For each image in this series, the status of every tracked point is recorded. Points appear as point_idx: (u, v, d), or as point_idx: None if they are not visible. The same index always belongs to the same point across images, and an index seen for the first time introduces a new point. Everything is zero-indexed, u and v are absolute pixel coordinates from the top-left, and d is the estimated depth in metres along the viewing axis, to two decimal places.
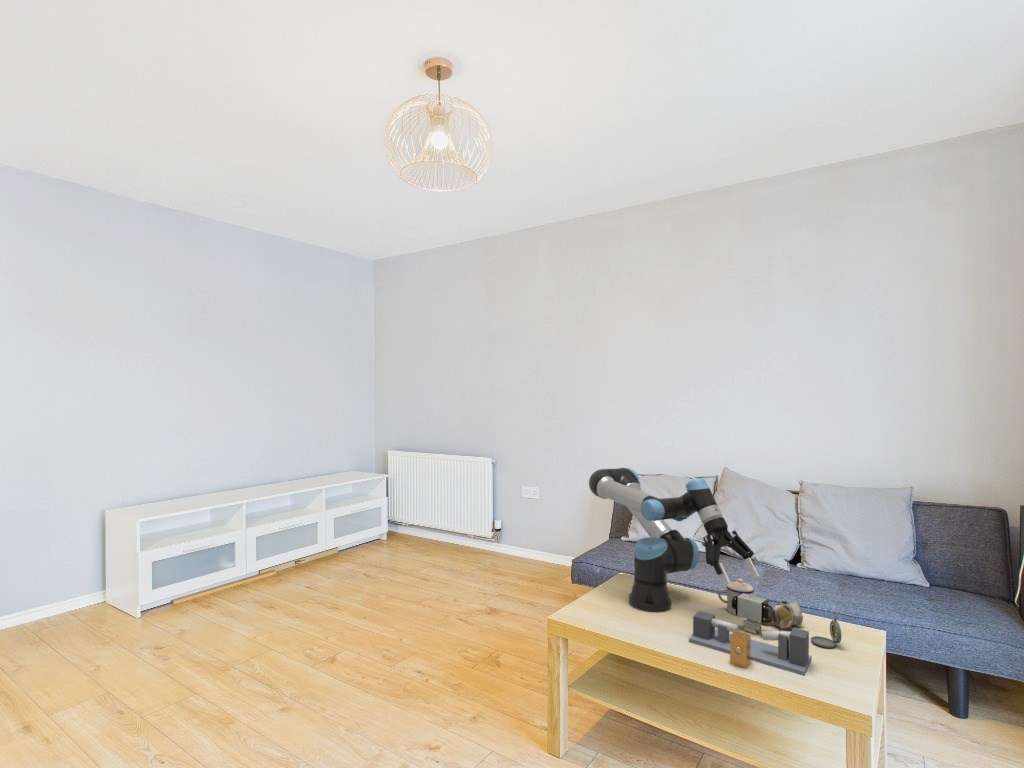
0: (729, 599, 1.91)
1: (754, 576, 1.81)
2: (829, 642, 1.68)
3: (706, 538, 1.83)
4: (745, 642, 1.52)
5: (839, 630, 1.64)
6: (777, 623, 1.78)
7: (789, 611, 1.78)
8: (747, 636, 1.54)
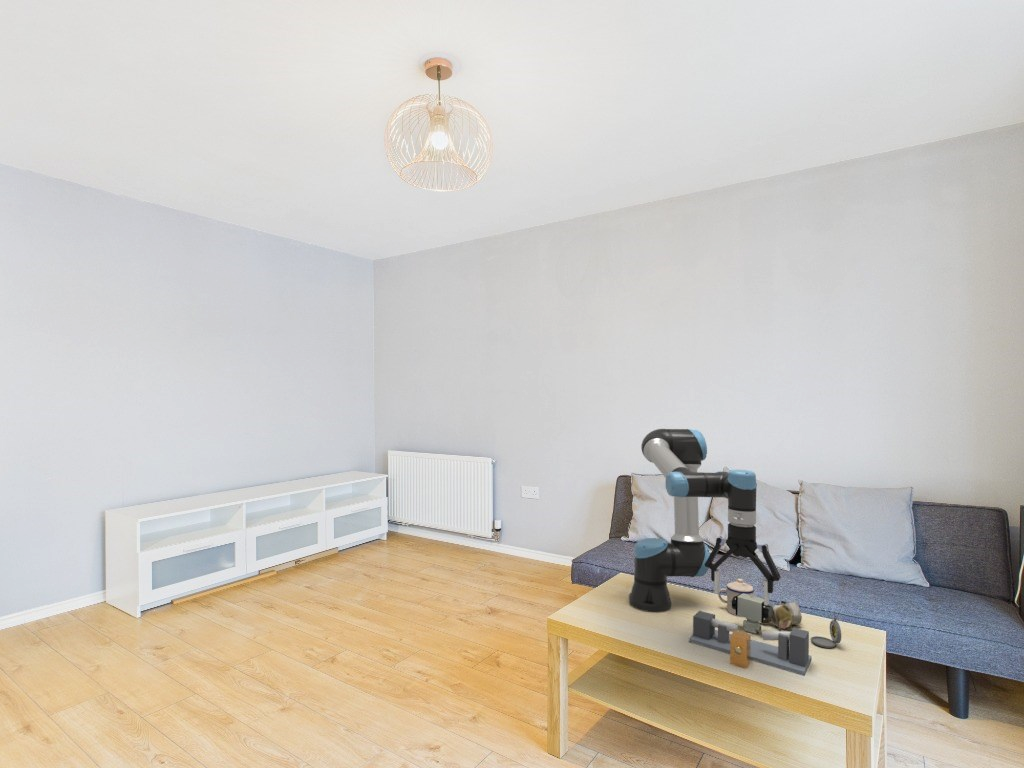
0: (729, 599, 1.91)
1: None
2: (829, 642, 1.68)
3: None
4: (745, 642, 1.52)
5: (839, 630, 1.64)
6: (776, 623, 1.78)
7: (788, 611, 1.78)
8: (747, 636, 1.54)
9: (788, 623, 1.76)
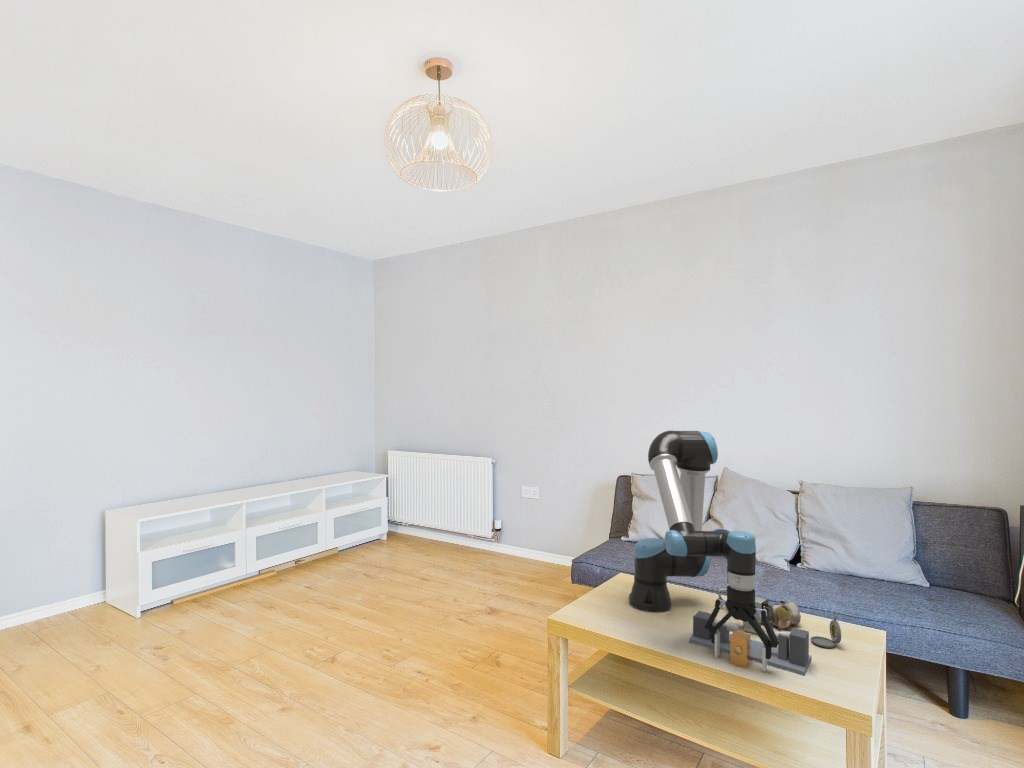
0: None
1: None
2: (829, 642, 1.68)
3: None
4: (745, 642, 1.52)
5: (839, 630, 1.65)
6: (775, 623, 1.78)
7: (787, 611, 1.79)
8: (747, 636, 1.54)
9: (787, 623, 1.76)
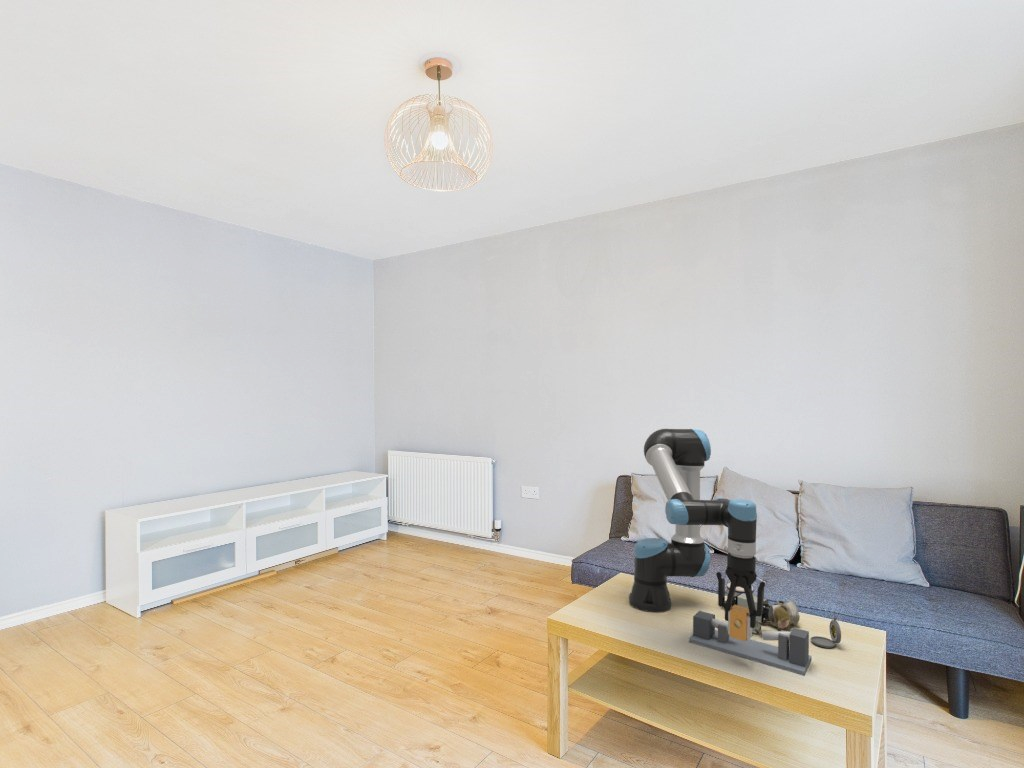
0: None
1: None
2: (829, 642, 1.68)
3: None
4: (745, 615, 1.52)
5: (839, 630, 1.65)
6: (775, 623, 1.79)
7: (786, 611, 1.79)
8: (747, 610, 1.54)
9: (786, 623, 1.76)
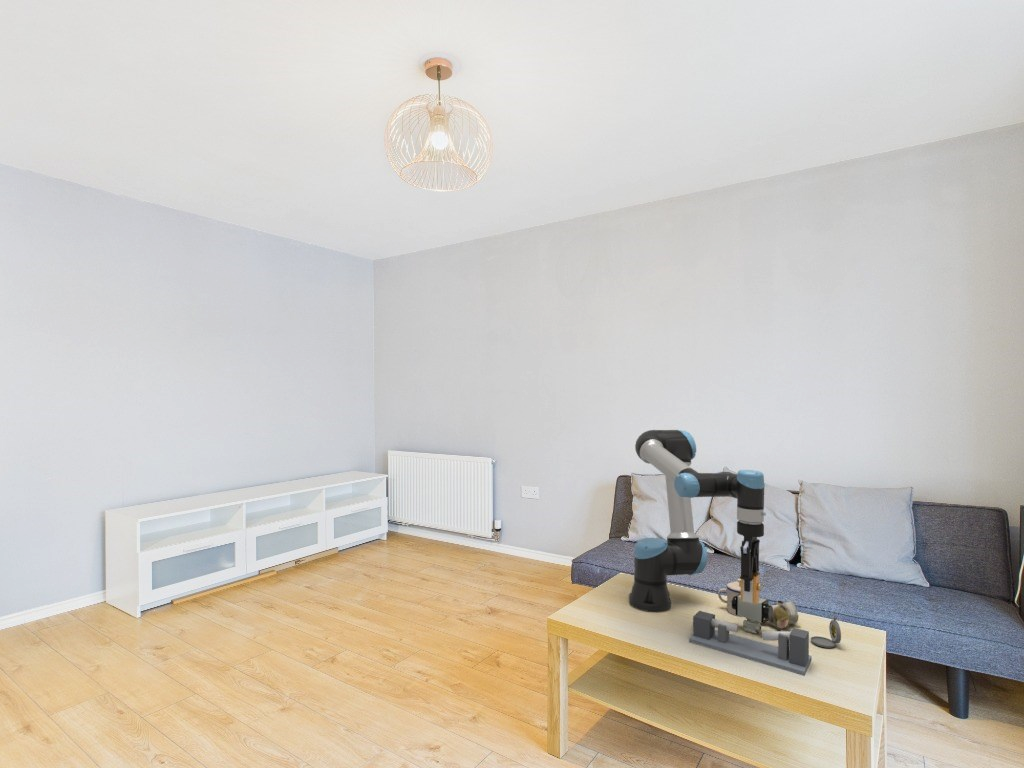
0: (729, 599, 1.91)
1: None
2: (829, 642, 1.68)
3: (745, 551, 1.58)
4: (759, 576, 1.63)
5: (839, 630, 1.65)
6: (774, 623, 1.79)
7: (785, 610, 1.79)
8: None
9: (786, 623, 1.76)
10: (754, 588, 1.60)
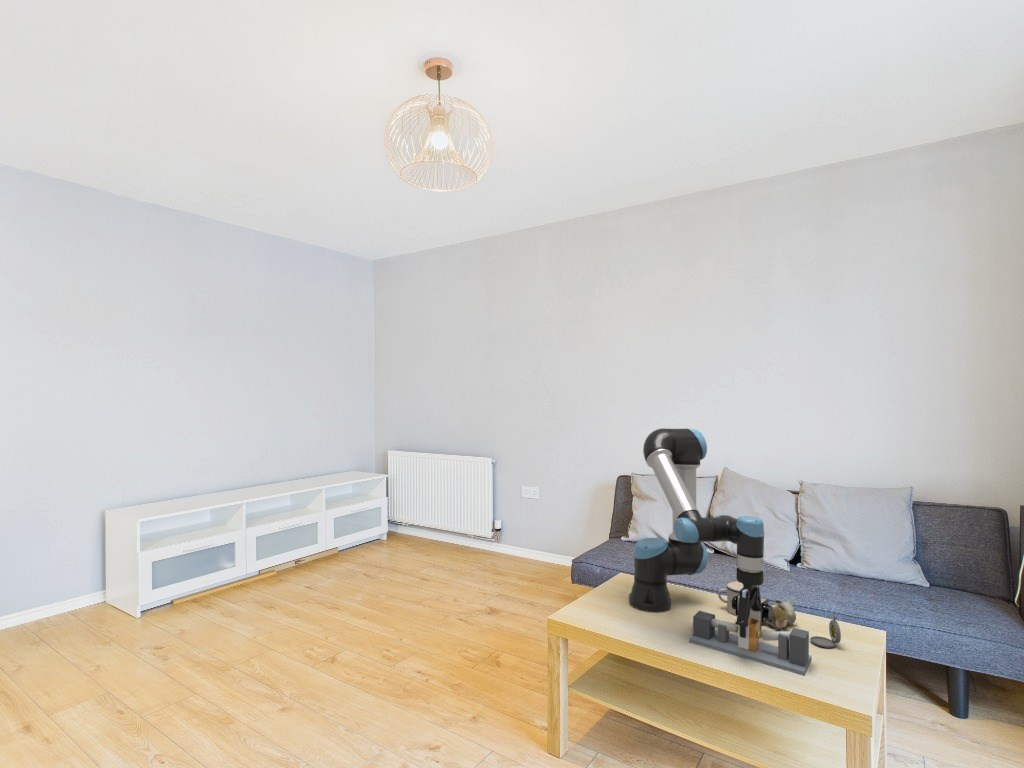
0: (729, 599, 1.91)
1: None
2: (828, 642, 1.68)
3: (744, 594, 1.57)
4: None
5: (839, 630, 1.65)
6: (772, 623, 1.79)
7: (783, 610, 1.79)
8: (750, 618, 1.64)
9: (784, 622, 1.76)
10: (754, 636, 1.60)
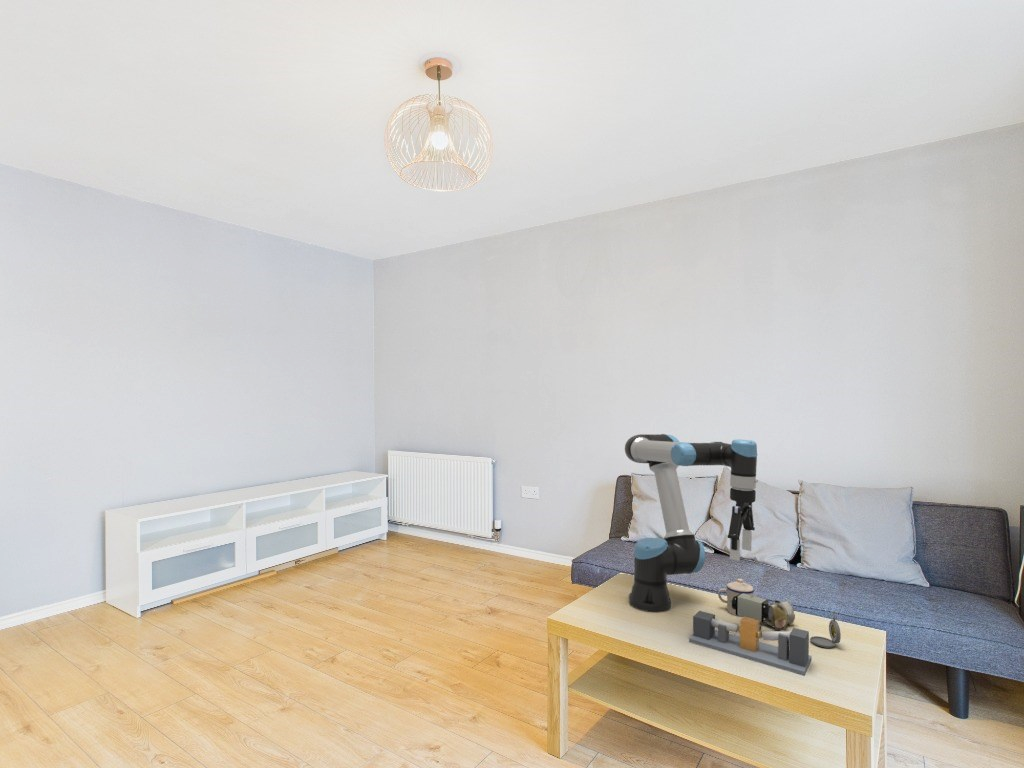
0: (729, 599, 1.91)
1: (746, 548, 1.77)
2: (828, 642, 1.68)
3: (736, 510, 1.66)
4: None
5: (838, 630, 1.65)
6: (771, 623, 1.79)
7: (782, 610, 1.79)
8: (750, 618, 1.64)
9: (783, 622, 1.76)
10: (754, 636, 1.60)
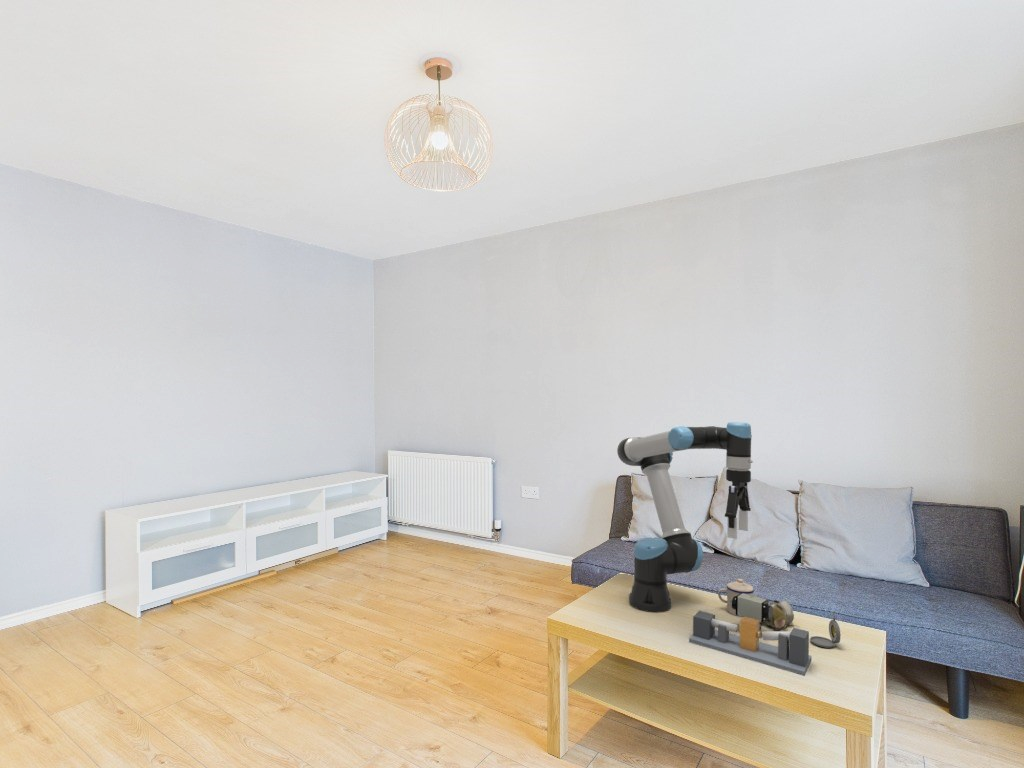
0: (729, 599, 1.91)
1: (743, 528, 1.82)
2: (828, 642, 1.68)
3: (733, 489, 1.72)
4: None
5: (838, 630, 1.65)
6: (771, 623, 1.79)
7: (781, 610, 1.79)
8: (750, 618, 1.64)
9: (783, 622, 1.76)
10: (754, 636, 1.60)
